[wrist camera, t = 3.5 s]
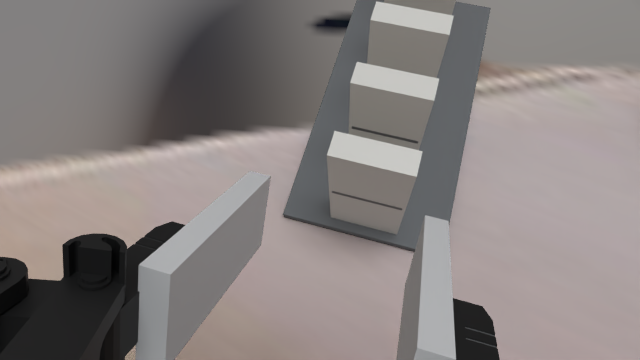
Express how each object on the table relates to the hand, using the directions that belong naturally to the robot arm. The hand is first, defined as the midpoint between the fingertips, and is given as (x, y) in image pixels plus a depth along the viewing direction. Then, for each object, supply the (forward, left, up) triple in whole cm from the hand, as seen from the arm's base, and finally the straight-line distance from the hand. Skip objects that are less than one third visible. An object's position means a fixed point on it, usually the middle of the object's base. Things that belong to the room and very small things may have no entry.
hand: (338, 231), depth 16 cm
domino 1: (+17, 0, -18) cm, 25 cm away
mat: (+18, 0, -18) cm, 26 cm away
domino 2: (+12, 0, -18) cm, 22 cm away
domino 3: (+7, 0, -18) cm, 19 cm away
